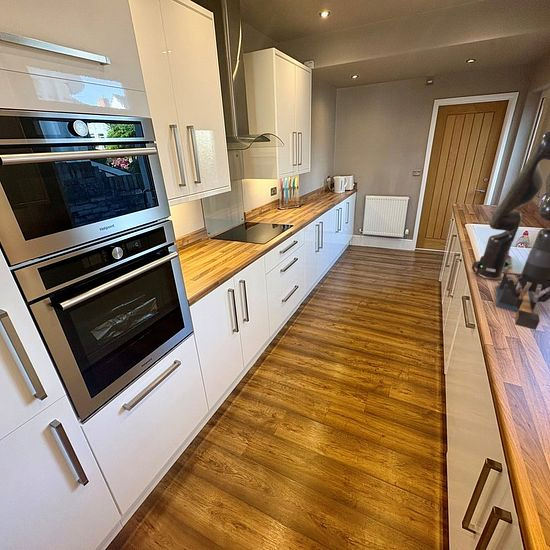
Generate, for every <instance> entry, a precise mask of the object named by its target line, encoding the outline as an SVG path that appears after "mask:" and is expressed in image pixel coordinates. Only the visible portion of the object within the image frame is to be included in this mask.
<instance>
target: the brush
mask: <svg viewBox="0 0 550 550" xmlns="http://www.w3.org/2000/svg"><path fill="white" fill-rule="evenodd" d="M520 290H521V289H520ZM519 292H520V291H519ZM532 311H533V310H531V305H530V300H529V294H528V291H527V293H526V294H525V296H524V297H523V302H522V304H521V306H520V309H519V310H518V311H516V314H515V316H514V325H515V326H517V327H518V326H519V327H523V328H527V329H530V330H535V331H536V330H537V328H538V327H539V326H538V325H539V324H540V321H541V320H540V316H539V314H537V313H533V312H532Z"/></svg>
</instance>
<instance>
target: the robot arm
mask: <svg viewBox="0 0 550 550" xmlns="http://www.w3.org/2000/svg"><path fill="white" fill-rule="evenodd" d="M542 161H550V130H546V131H544V132H542V134H541V135H540V136H539V138H538V140H537V141H536V143H535V144H534V147H533V148H532V151H531V152H530V154H529V157H528V158H527V161H526V162H525V164H524V166H523V168H522V169H521V171H520V173H519V174H518V175H517V176H516V179H514V181H513V182H512V185H511V186H510V188H509V189H508V192H507V193H506V194H505V197H504V198H503V200H502V201H501V202H500V204H499V205H498V206H497V208H496V209H495V210H494V212H493V213H492V215H491V216H490V219H489V228H491V229H492V230H496V231H503V232H501V233H497V234H494V235H490V236H489V238H488V239H487V243H486V246H485V250H484V253H483V255H482V256H481V257H480V259H479V260H477V261H474V262H473V264H472V265H471V270H472V272H473V273H475V275H478V276H479V277H480V278H483V279H486V280H492V281H497V280H500V279H501V277H502V274H503V271H504V269H505V268H504V265H505V262H506V259H507V256H508V253H509V254H510V251H511V247H512V244H513V243H514V241H515V237H516V235H517V232H518V230H519V228H520V225H521V224H522V223H521V222H522V221H523V214H522V211H520V210H516V209H519V208H521V207H523V206H525V205H527V204H528V203H530V202H532V201H533V200H534V199H535V198H536V197H537V195H539V193H540V191H541V190H542V189H543V187H544V184H545V187H546V189H545V190H546V191H545V192H546V194H545V197H544V200H543V201H542V202H541V204H540V207H539V210H538V216H539V218H540V219H542V220H543V221H546V222H550V173H549V174H548V176H547V178H546V182H545V181H544V179H545V178H544V176H543V173H542V170H541V167H540V163H541V162H542ZM517 281H518V284H519V286H520V287H521V290H520V292H517V291H516V289H517V287H516V288H515V285H516V284H517ZM508 283H509V286H510V289H511V292H512V295H513V296H516V297H517V300H516V302H515V307H517V309H520V306H521V304H522V302H523V297H524V296H525V294H526V293H527V291H532V292H533V296H532V299H531V300H530V305H531V311H533V310H534V309H535V308H536V305H537V303H540V302H541V303H545V302H547V301H549V300H550V227H545V228H542V229H540V230H539V231H538V232H537V235H536V237H535V241H534V243H533V245H532V247H531V249H530V251H529V253H528V256H527V258H526V260H525V263H524V266H523V269H522V271H521V273H520V274H519V276H518V278H516V277H512V278H508ZM518 284H517V285H518ZM546 289H548V290H547V291H546V292H545V293H543V294H542V295H541V292H543V291H544V290H546Z"/></svg>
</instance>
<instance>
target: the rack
mask: <svg viewBox="0 0 550 550" xmlns="http://www.w3.org/2000/svg"><path fill="white" fill-rule="evenodd" d="M519 275H520V274H516V277H515V278H518V276H519ZM508 278H513V277H511V276H508V271H504V272H503V275H502V278H501V280H500V284H499V285H496V292H495V293H496V295H495V296H496V298H495V299H496V300H495V301H496V303H495V304H496V305H495V306H496V307H498V308H501V309H506V310H510V311H515V312H517V311H518V310H519V309H517V307H515V302H516V300H517V297H516V296H513V295H512V292H511V289H510V286H509V283H508ZM518 284H519V281H517V284H516V285H515V288H516V291H517V292H519V291H520V289H521V286H518ZM517 287H518V288H517ZM528 294H529V300H531V299H532V296H533V292H532V291H528Z"/></svg>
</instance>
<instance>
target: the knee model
mask: <svg viewBox="0 0 550 550" xmlns="http://www.w3.org/2000/svg"><path fill="white" fill-rule="evenodd" d="M512 264H513V263H512V256H511V255H510V252H509V253H508V256H507V259H506V262H505V265H504V268H503V269H505V270H506V272H510V271H512V270H513V269H514V268H515V266H514V264H513V265H512Z"/></svg>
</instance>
